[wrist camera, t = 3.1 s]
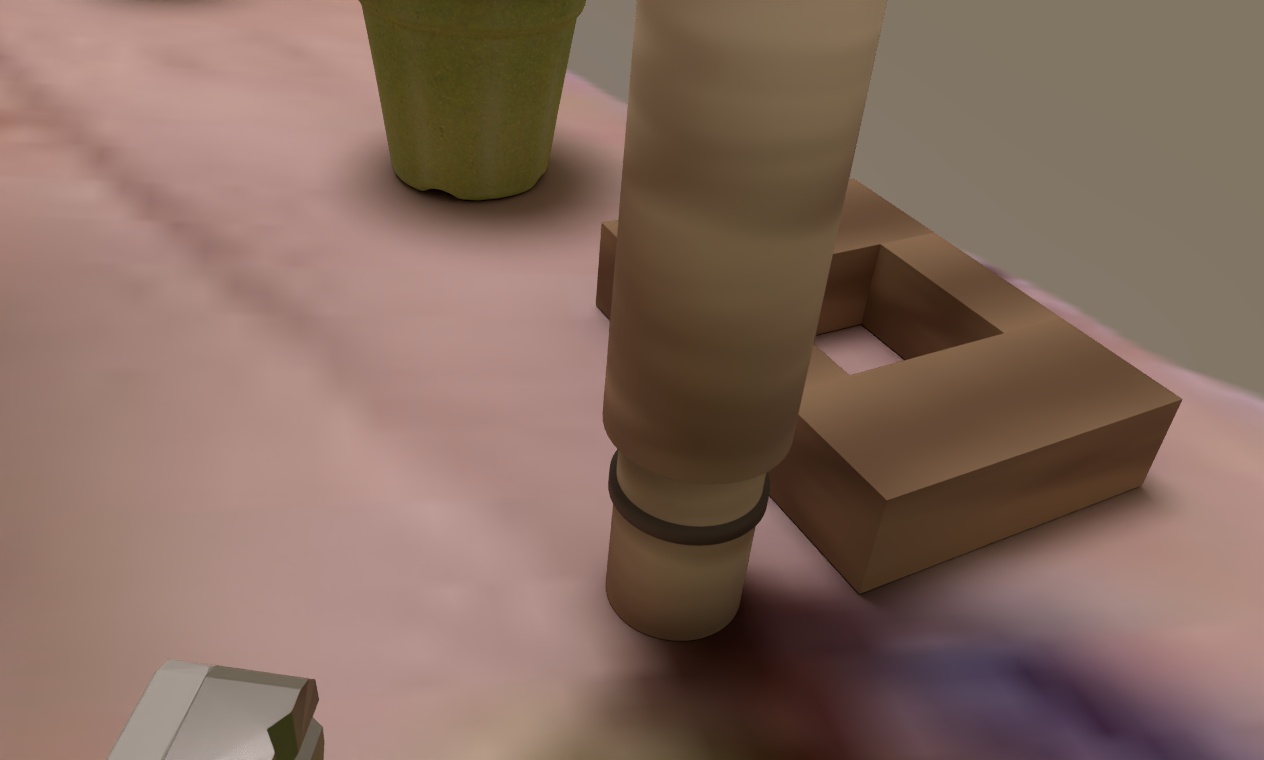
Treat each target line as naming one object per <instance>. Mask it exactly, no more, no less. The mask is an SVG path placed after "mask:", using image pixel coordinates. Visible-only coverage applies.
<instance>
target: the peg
mask: <svg viewBox="0 0 1264 760" xmlns="http://www.w3.org/2000/svg"><path fill="white" fill-rule="evenodd" d="M886 5H887V0H637V1H636V13H635V25H634V37H633V49H632V62H631V74H630V86H629V98H628V110H627V122H626V134H625V147H624V159H623V171H622V183H621V195H620V208H619V220H618V232H617V244H616V256H615V268H614V281H613V293H612V305H611V317H610V329H609V341H608V354H607V366H606V378H605V390H604V402H603V424H604V428H605V430H606V433H607V435H608V437H609V438H610V440H611V441H612V443H613V444H614V445H615V446H616V448H617V451H616V452H615V454H614V455H613V458H612V460H611V464H610V470H609V481H608V488H609V494H610V498H611V500H612V502H613V512H612V522H611V533H610V543H609V554H608V564H607V575H606V592H607V597H608V599H609V602H610V604H611V606H612V608H613V609H614V610H615V612H616V613H617V614H618V616H619V617H621V618H622V619H623V620H624V621H625V622H626V623H627V624H629V625H630V626H631V627H633V628H635V629H636V630H638V631H640V632H642V633H644V634H647V635H650V636H653V637H656V638H660V639H664V640H672V641H688V640H696V639H701V638H704V637H707V636H710V635H712V634H714V633H717V632H718V631H720V630H721V629H723V628H724V627H725V626H727V625H728V624H729V623H730V622H731V620H732V619H733V618H734V616H735V615H736V613H737V611H738V608H739V606H740V601H741V596H742V591H743V586H744V581H745V576H746V571H747V566H748V561H749V556H750V551H751V546H752V541H753V536H754V531H755V526H756V525H757V524H758V523H759V522H760V520H761V519H762V517H763V515H764V513H765V511H766V507H767V502H768V497H769V492H770V479H769V475H768V471H770V470H771V469H773V468H774V467H775V466H777V465H778V464H779V463H780V462H781V461H782V460H783V459H784V458H785V456H786V455H787V454H788V452H789V450H790V448H791V445H792V442H793V437H794V432H795V428H796V423H797V419H798V414H799V409H800V405H801V400H802V395H803V391H804V386H805V381H806V377H807V372H808V367H809V363H810V358H811V353H812V349H813V344H814V340H815V335H816V330H817V326H818V321H819V316H820V312H821V307H822V302H823V298H824V293H825V288H826V284H827V279H828V274H829V270H830V265H831V260H832V256H833V251H834V247H835V242H836V237H837V233H838V228H839V223H840V219H841V214H842V209H843V205H844V200H845V195H846V191H847V186H848V181H849V177H850V172H851V167H852V162H853V158H854V153H855V149H856V144H857V140H858V135H859V130H860V126H861V121H862V116H863V112H864V107H865V102H866V98H867V93H868V88H869V83H870V79H871V75H872V69H873V65H874V61H875V56H876V51H877V47H878V42H879V37H880V32H881V28H882V23H883V19H884V14H885V9H886Z"/></svg>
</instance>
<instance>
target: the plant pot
mask: <svg viewBox="0 0 1264 760" xmlns="http://www.w3.org/2000/svg"><path fill="white" fill-rule="evenodd" d="M359 1H360V3H361V5H362V9H363V14H364V19H365V24H366V29H367V34H368V39H369V44H370V49H371V54H372V59H373V64H374V69H375V75H376V80H377V85H378V91H379V96H380V101H381V107H382V112H383V118H384V124H385V129H386V135H387V140H388V145H389V150H390V156H391V163H392V167H393V169H394V171H395V173H396V174H397V176H398V177H399V178H400V179H401V180H403V181H404V182H405V183H407V184H408V185H410V186H412V187H414V188H416V189H418V190H421V191H425V190H428V189H440V190H443V191H446V192H448V193H450V194H452V195H453V196H455V197H457V198H458V199H468V200H485V199H495V198H501V197H507V196H512V195H516V194H519V193H522V192H525V191H527V190H529V189H531V188H532V187H533V186H534V185H535V184H536V182H537V181H538V179H539V178H540V176H541V175H542V174H543V173H546V171H547V167H548V162H549V156H550V151H551V146H552V141H553V136H554V130H555V125H556V119H557V114H558V109H559V104H560V99H561V94H562V89H563V84H564V78H565V73H566V68H567V63H568V58H569V53H570V48H571V43H572V38H573V33H574V29H575V24H576V19H577V17H578V16H579V15H580V14H581V12H582V10H583V8H584V6H585V2H586V0H359Z"/></svg>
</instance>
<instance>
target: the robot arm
mask: <svg viewBox="0 0 1264 760" xmlns="http://www.w3.org/2000/svg"><path fill="white" fill-rule="evenodd" d="M318 701H319V697H318V691H317V686H316V681H315V679H310V678H302V677H295V676H288V675H281V674H274V673H267V672H260V671H253V670H246V669H239V668H232V667H225V666H219V665H213V664H205V663H197V662H189V661H181V660H173V659H168V660H167V661H166V662H165V663H164V664H163V665H162V666H161V667H160V668H159V669H158V670H157V671H156V672H155V673H154V675H153V677H152V678H151V680H150V682H149V684H148V686H147V687H146V689H145V691H144V693H143V694H142V696H141V698H140V700H139V702H138V703H137V705H136V707H135V709H134V711H133V712H132V714H131V716H130V718H129V719H128V721H127V723H126V725H125V727H124V728H123V730H122V732H121V734H120V736H119V737H118V739H117V741H116V743H115V745H114V746H113V748H112V750H111V752H110V753H109V755H108V757H107V759H106V760H323V759H324V734H323V727H322V726H321V725H320V724H319V723H318V722H317V721H316V720H315V719H314V718H313V714H314V712H315V709H316V706H317V704H318Z"/></svg>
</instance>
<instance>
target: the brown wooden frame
mask: <svg viewBox="0 0 1264 760" xmlns="http://www.w3.org/2000/svg"><path fill="white" fill-rule="evenodd" d="M617 232H618V220H614V221H608V222H603V223H602V226H601V240H600V253H599V267H598V281H597V295H596V305H597V306H598V307H599V308H600V309H601V311H602V312H603V313H604V314H605V315H606V316H607V317H608V318H609V319H610V317H611V305H612V293H613V281H614V268H615V256H616V244H617ZM858 324H862V325H863V326H864V327H866V328H867V329H868V330H869V331H871V332H872V333H873V334H874V335H875V336H877V337H878V338H879V339H880V340H882V341H883V342H884V343H885V344H887V345H888V346H889V347H890V348H891V349H893V350H894V351H895V352H896V353H898V354H899V355H900V356H901V357H902V358H904V359H905V361H901V362H897V363H894V364H890V365H886V366H883V367H879V368H875V369H872V370H868V371H864V372H861V373H857V374H853V375H849V374H847V373H846V372H845V371H844V370H843V369H842V368H841V367H839V366H838V365H837V364H836V363H835V362H834V361H833V360H832V359H830V358H829V357H828V356H827V355H826V354H825V353H824V352H822V351H821V350H820V349H819V348H818V347H817V346H816V345H815V344H813V349H812V353H811V358H810V363H809V367H808V372H807V377H806V381H805V386H804V391H803V395H802V400H801V405H800V409H799V414H798V419H797V423H796V428H795V432H794V437H793V442H792V445H791V448H790V450H789V452H788V454H787V455H786V456H785V458H784V459H783V460H782V461H781V462H780V463H779V464H778V465H777V466H775V467H774V468H773V469H771V470H770V471H768V475H769V479H770V492H769V495H770V496H771V497H772V499H773V500H774V501H775V502H776V503H777V504H778V505H779V506H780V507H781V508H782V510H783V511H784V512H785V513H786V514H787V515H788V516H789V517H790V518H791V519H792V521H793V522H794V523H795V524H796V525H797V526H798V527H799V528H800V529H801V530H802V532H803V533H804V534H805V535H806V536H807V537H808V538H809V539H810V540H811V541H812V543H813V544H814V545H815V546H816V547H817V548H818V549H819V550H820V551H821V552H822V554H823V555H824V556H825V557H826V558H827V559H828V560H829V561H830V562H831V563H832V565H833V566H834V567H835V568H836V569H837V570H838V571H839V572H840V573H841V574H842V576H843V577H844V578H845V579H846V580H847V581H848V582H849V583H850V584H851V585H852V587H853V588H854V589H855V590H856V591H857V592H858V593H859V594H861V593H863V592H866V591H869V590H871V589H874V588H876V587H879V586H882V585H884V584H887V583H889V582H892V581H895V580H897V579H900V578H902V577H905V576H908V575H910V574H913V573H915V572H918V571H921V570H923V569H926V568H928V567H931V566H934V565H936V564H939V563H941V562H944V561H947V560H949V559H952V558H954V557H957V556H960V555H962V554H965V553H967V552H970V551H973V550H975V549H978V548H980V547H983V546H986V545H988V544H991V543H993V542H996V541H999V540H1001V539H1004V538H1006V537H1009V536H1012V535H1014V534H1017V533H1019V532H1022V531H1025V530H1027V529H1030V528H1032V527H1035V526H1038V525H1040V524H1043V523H1045V522H1048V521H1051V520H1053V519H1056V518H1058V517H1061V516H1064V515H1066V514H1069V513H1071V512H1074V511H1077V510H1079V509H1082V508H1084V507H1087V506H1090V505H1092V504H1095V503H1097V502H1100V501H1103V500H1105V499H1108V498H1110V497H1113V496H1116V495H1118V494H1121V493H1123V492H1126V491H1129V490H1131V489H1134V488H1136V487H1139V486H1142V484H1143V482H1144V480H1145V478H1146V476H1147V473H1148V471H1149V469H1150V467H1151V465H1152V463H1153V461H1154V459H1155V456H1156V454H1157V452H1158V450H1159V448H1160V446H1161V444H1162V442H1163V440H1164V437H1165V435H1166V433H1167V431H1168V429H1169V427H1170V425H1171V423H1172V420H1173V418H1174V416H1175V414H1176V412H1177V410H1178V408H1179V406H1180V403H1181V401H1182V399H1181V398H1180V397H1178V396H1177V395H1176V394H1174V393H1173V392H1171V391H1170V390H1168V389H1167V388H1165V387H1164V386H1162V385H1161V384H1159V383H1158V382H1156V381H1155V380H1153V379H1152V378H1150V377H1149V376H1147V375H1146V374H1144V373H1143V372H1141V371H1140V370H1138V369H1137V368H1135V367H1134V366H1132V365H1131V364H1129V363H1128V362H1126V361H1125V360H1123V359H1122V358H1120V357H1119V356H1117V355H1116V354H1114V353H1113V352H1111V351H1110V350H1108V349H1107V348H1105V347H1104V346H1103V345H1101V344H1100V343H1098V342H1097V341H1095V340H1094V339H1092V338H1091V337H1089V336H1088V335H1086V334H1085V333H1083V332H1082V331H1080V330H1079V329H1077V328H1076V327H1074V326H1073V325H1071V324H1070V323H1068V322H1067V321H1065V320H1064V319H1062V318H1061V317H1059V316H1058V315H1056V314H1055V313H1053V312H1052V311H1050V310H1049V309H1047V308H1046V307H1044V306H1043V305H1041V304H1040V303H1038V302H1037V301H1035V300H1034V299H1032V298H1031V297H1030V296H1028V295H1027V294H1025V293H1024V292H1022V291H1021V290H1019V289H1018V288H1016V287H1015V286H1013V285H1012V284H1010V283H1009V282H1007V281H1006V280H1004V279H1003V278H1001V277H1000V276H998V275H997V274H995V273H994V272H992V271H991V270H989V269H988V268H986V267H985V266H983V265H982V264H980V263H979V262H977V261H976V260H974V259H973V258H971V257H970V256H968V255H967V254H965V253H964V252H962V251H961V250H959V249H958V248H956V247H955V246H954V245H952V244H951V243H949V242H948V241H946V240H945V239H943V238H942V237H940V236H938V235H937V234H936V233H934V232H933V231H931V230H929V229H928V228H927V227H925V226H924V225H922V224H921V223H919V222H918V221H916V220H915V219H913V218H912V217H910V216H909V215H907V214H906V213H904V212H903V211H901V210H900V209H898V208H897V207H895V206H894V205H892V204H891V203H889V202H888V201H886V200H885V199H883V198H882V197H881V196H879V195H877V194H876V193H875V192H873V191H872V190H870V189H869V188H867V187H866V186H864V185H863V184H861V183H859V182H858V181H857V180H855V179H849V181H848V186H847V191H846V195H845V200H844V205H843V209H842V214H841V219H840V223H839V228H838V233H837V237H836V242H835V247H834V251H833V256H832V260H831V265H830V270H829V274H828V279H827V284H826V288H825V293H824V298H823V302H822V307H821V312H820V316H819V321H818V326H817V330H816V335H818V334H822V333H826V332H830V331H834V330H838V329H842V328H846V327H850V326H854V325H858Z"/></svg>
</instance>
